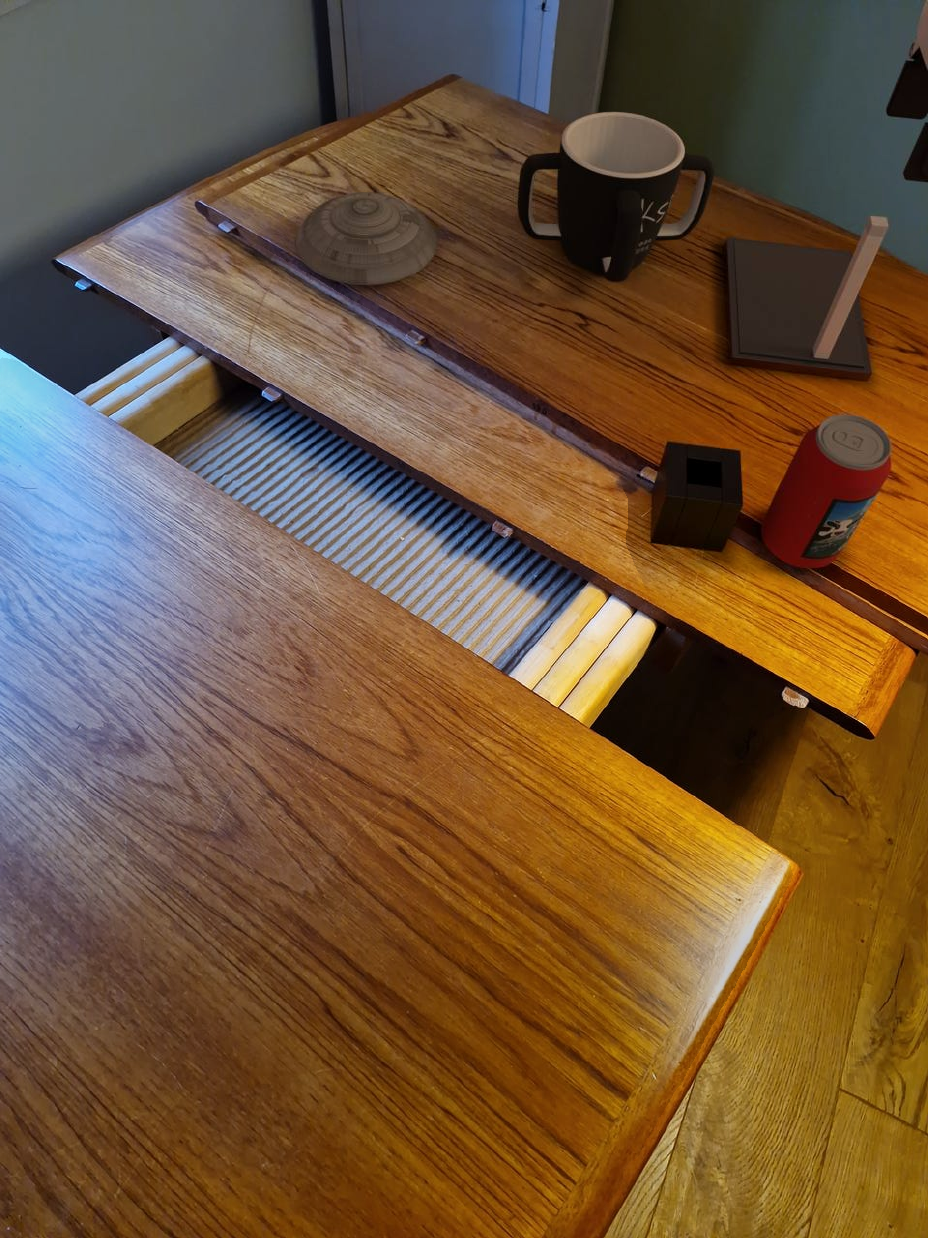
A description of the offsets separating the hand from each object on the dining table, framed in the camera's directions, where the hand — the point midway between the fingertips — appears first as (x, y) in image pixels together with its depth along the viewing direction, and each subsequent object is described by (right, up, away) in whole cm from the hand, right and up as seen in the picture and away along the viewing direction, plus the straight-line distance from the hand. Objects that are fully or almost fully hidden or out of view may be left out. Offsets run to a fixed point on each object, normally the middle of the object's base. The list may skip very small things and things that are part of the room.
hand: (913, 146), depth 70 cm
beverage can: (-7, -31, +5) cm, 32 cm away
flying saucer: (-46, +2, +26) cm, 52 cm away
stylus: (-1, -11, +17) cm, 20 cm away
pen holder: (-16, -29, +6) cm, 34 cm away
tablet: (-1, -5, +23) cm, 23 cm away
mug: (-20, +3, +27) cm, 34 cm away
